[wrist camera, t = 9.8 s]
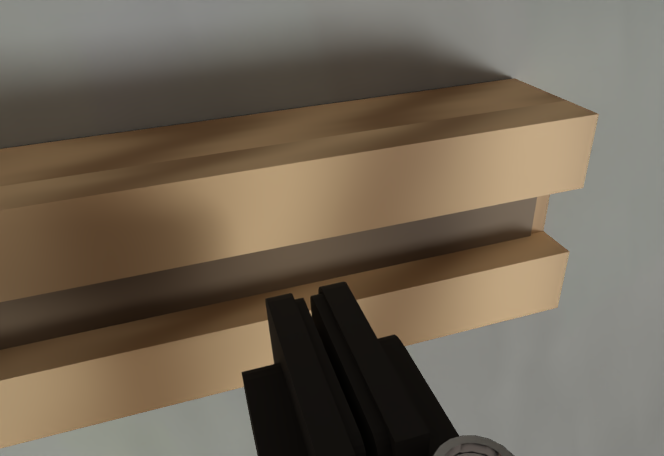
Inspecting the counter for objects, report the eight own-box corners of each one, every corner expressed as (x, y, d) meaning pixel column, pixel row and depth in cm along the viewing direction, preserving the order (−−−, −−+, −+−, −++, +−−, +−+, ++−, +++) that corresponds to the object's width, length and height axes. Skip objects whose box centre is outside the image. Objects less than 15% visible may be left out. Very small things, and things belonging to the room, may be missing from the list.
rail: (514, 75, 16) (643, 128, 12) (492, 249, 19) (589, 340, 15) (-425, 202, 11) (-770, 372, 7) (-248, 410, 14) (-410, 612, 10)
